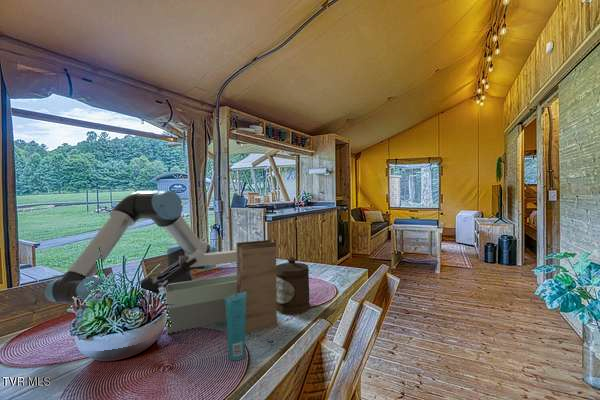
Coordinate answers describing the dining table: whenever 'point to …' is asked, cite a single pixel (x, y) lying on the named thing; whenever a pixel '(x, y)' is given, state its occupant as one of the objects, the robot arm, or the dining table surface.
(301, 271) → the wooden container
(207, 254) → the sleeve
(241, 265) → the tan tall block
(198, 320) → the tray
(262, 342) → the dining table surface
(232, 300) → the tube
